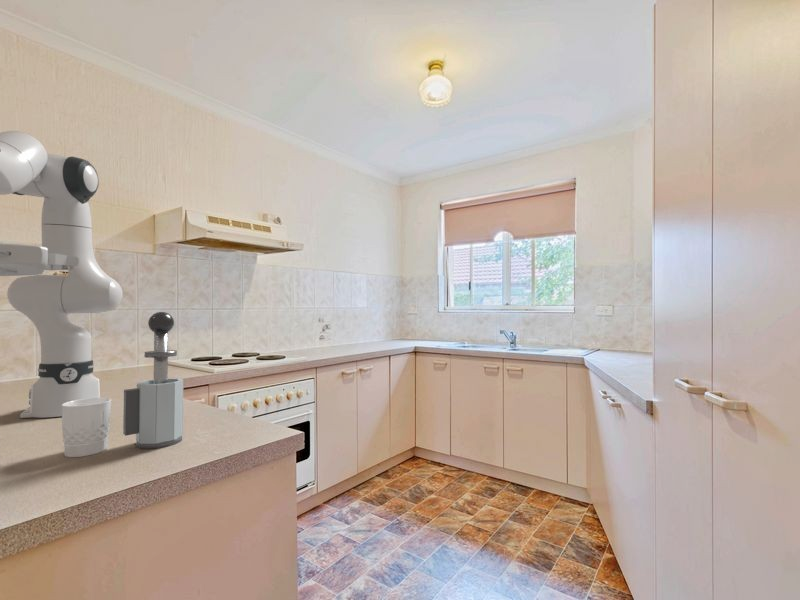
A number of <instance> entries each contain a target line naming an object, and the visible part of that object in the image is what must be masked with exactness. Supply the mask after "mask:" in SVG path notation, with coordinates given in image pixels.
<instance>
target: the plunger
mask: <svg viewBox="0 0 800 600" xmlns="http://www.w3.org/2000/svg"><path fill="white" fill-rule="evenodd" d="M147 321H148V322H147V324H148V325H147V326H148V329H150V331H152V332H153V334H154V335H153V350H150V351H144V358H153V380H154V384H164V383H168V377H169V375H168V372H169V369H168V368H169V367H168V365H169V357H177V356H178V351H177V350H174V349H169V332H170V331H171V330H172V329H173V328H174V325H175V320H174V317H173V316H172V315H171V314H170V313H168V312H165V311H158V312H155V313H153V314H152V315H151V316H150V317H149V320H147Z"/></svg>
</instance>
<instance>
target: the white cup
mask: <svg viewBox="0 0 800 600" xmlns="http://www.w3.org/2000/svg"><path fill="white" fill-rule="evenodd" d="M111 407H112V398H111V397H100V398H88V399H80V400H74V401H70V402H66V403H63V404H62V416H61V422H62V423H61V424H62V426H61V428H62V437H63V438H62V442H63V446H64V447H63V449H64V451H63V452H64V457H66V458H79V457H80V458H81V457H88V456H92V455H95V454H99V453H101V452H104V451H105V450H107V448H108V438H109V437H108V436H109V435H110V434H109V433H110V423H111Z"/></svg>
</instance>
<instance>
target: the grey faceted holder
mask: <svg viewBox="0 0 800 600" xmlns="http://www.w3.org/2000/svg"><path fill="white" fill-rule="evenodd" d="M122 426H123V428H122V429H123V432H122V435H124V437H125V436H130V435H131V436H132V435H135V441H136V443H135V444H136V445H135V446H137V448H139V449H141V448H142V449H141V450H151V449H160V448H166V447H169V446H173V445H176V444H178V443H180V442H181V441H183V434H184V379H182V378H179V377H178V378H174V377H172V378H168V383H164V384H154V379H149V380H146V379H145V380H143V381H139V382H137V383H136V388H128V389H123V424H122Z"/></svg>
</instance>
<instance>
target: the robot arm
mask: <svg viewBox="0 0 800 600" xmlns="http://www.w3.org/2000/svg"><path fill="white" fill-rule="evenodd" d="M99 182H100V181H99V175H98V172H97V169H96V168H95V167H94V166H93V165H92V163H91V162H90V161H88V160H86V159H83V158H80V157H77V156H66V155H59V154H52V153H48V152H47V150H46V148H45V146H44V145H43V143H41V142H40V140H38V139H37V138H36V137H34V136H32V135H31V134H28V133H26V132H24V131H19V130H7V131H2V132H0V196H1V195H3V196H4V195H6V196H7V195H11V194H12V195H16V196H31V197H36V198H37V197H39V198H43V203H42V208H41V209H42V210H41V219H40V220H41V224H40V225H41V245H35V244H34V245H31V244H20V243H19V244H18V243H4V242H3V241H0V277H14V276H16V277H17V278H15V279H14V280H13V281H12V282H11V283H10V284H9V286H8V289H7V293H6V295H7V300H8V302H9V304H10V305H11V306H12V307H13V308H14V309H15V310H16V311H18V312H19V313H21V314H23V315H24V316H26V317H27V318H28V319H29V320H30V321H31V322H32V323H33V325H34V326H35V328H36V330H37V332H38V335H39V339H40V355H41V356H40V359H41V361H40V363H39V364H38V368H37V370H38V372H37V373H38V377H39V378H38V380H37V381H35V382H34V383H33V384H32V385H31V388H30V389H29V391H28V399H29V401H28V405H29V406H28V407H27V408H26V409H25V410H23V411H22V412H21V413H20V415H19V418H20V419H23V418H24V419H25V418H26V419H27V418H41V419H42V418H56V417H62V404H63V403H66V402H70V401H74V400H80V399H88V398H101V396H100V395H101V393H100V391H101V389H100V386H101V385H100V379H99V378H98V377H96V376H95V375H94V374H93V372H94V368H95V365H94V360H92V348H93V346H92V345H93V336H92V335H91V333H90V332H89V331H88V330H87V329H86V328H84V327H82V326H79V325H76V324H73V323H71V321H70V320H69V318H68V314H69V315H70V314H98V313H99V314H100V313H106V312H112V311H115V310H116V309H117V308H119V306H120V305H121V303H122V301H123V297H124V293H123V289H122V287H121V285H120V283H118V281H116V279H114V278H112V277H111V276H109V275H108V274H107V273H106V272H105V271H104V270H103V269H102V268H101V266H100V264H98V261H97V260H96V259H97V258H96V256H95V253H94V245H93V224H92V223H93V222H92V221H93V220H92V214H91V208H90V204H89V201H90V199H91V198H92V197H93V196H94V195H95V194H96V193H97V190H98V188H99V184H100V183H99ZM45 271H68V274H67V275H63V274H62V275H61V274H59V275H58V274H43V273H44V272H45ZM18 276H19V277H18ZM20 276H21V277H20Z"/></svg>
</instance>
